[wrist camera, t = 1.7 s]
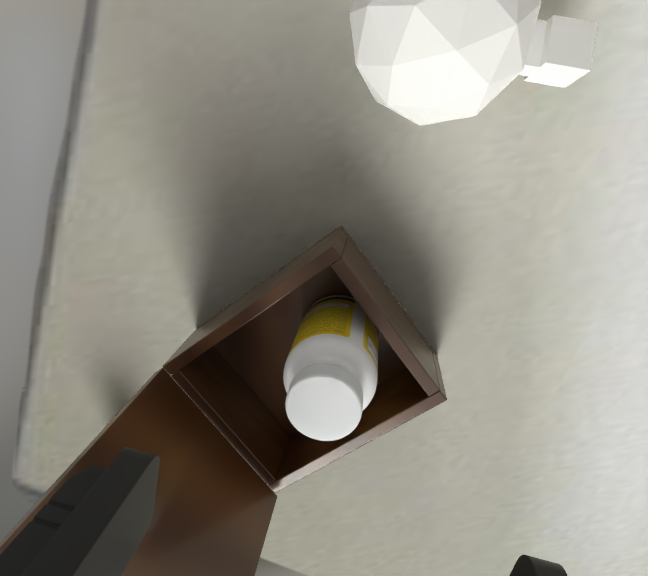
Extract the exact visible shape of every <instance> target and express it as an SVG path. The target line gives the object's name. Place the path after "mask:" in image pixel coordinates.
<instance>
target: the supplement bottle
mask: <svg viewBox="0 0 648 576" xmlns="http://www.w3.org/2000/svg"><path fill="white" fill-rule="evenodd" d="M378 342H379V331H378V329H377V327H376V326H375V325H374V323H373V322H372V321H371V319H370V318H369V317H368V315H367V314H366V313H365V311H364V310H363V309H362V307H361V306H360V305H359V303H358V302H357V301H356V299H355V298H353V297H350V296H345V295H332V296H327V297H324V298H322V299H320V300H318V301H317V302H315V303H314V304H313V305H312V306H311V307H310V308H309V309H308V311H307V312H306V314H305V316H304V318H303V320H302V322H301V324H300V327H299V329H298V332H297V335H296V337H295V339H294V342H293V345H292V347H291V350H290V352H289V355H288V357H287V360H286V363H285V366H284V373H283V381H284V386H285V390H286V392H287V397H286V402H285V408H286V413H287V416H288V418H289V420H290V422H291V423H292V425H293V426H294V427H295V428H296V429H297V430H298V431H299V432H301V433H302V434H304V435H305V436H307V437H310V438H312V439H316V440H321V441H333V440H338V439H341V438H343V437H345V436H347V435H348V434H350V433H351V432H352V431H353V430H354V429H355V428H356V427H357V425H358V424H359V422H360V419H361V416H362V411H363V410H364V409H365V408H366V407H367V406H368V405H369V403H370V402H371V400H372V398H373V396H374V394H375V391H376V386H377V378H378Z"/></svg>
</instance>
